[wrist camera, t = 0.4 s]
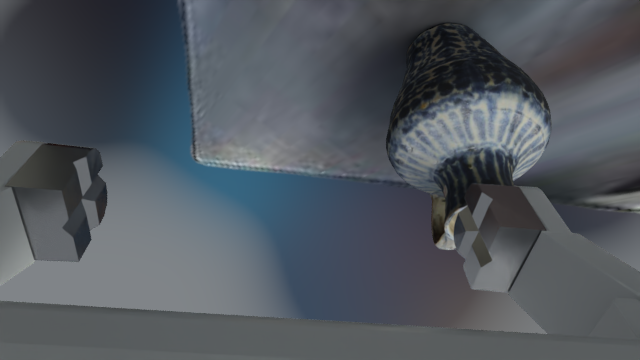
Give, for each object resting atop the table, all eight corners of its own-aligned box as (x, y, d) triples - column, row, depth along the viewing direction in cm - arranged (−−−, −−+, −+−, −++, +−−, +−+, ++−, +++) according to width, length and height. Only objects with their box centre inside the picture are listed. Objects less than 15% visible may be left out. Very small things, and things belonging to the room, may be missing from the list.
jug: (393, -18, 60) (410, 165, 42) (543, -8, 60) (625, 177, 42) (372, 100, 76) (378, 267, 58) (489, 108, 77) (531, 276, 59)
